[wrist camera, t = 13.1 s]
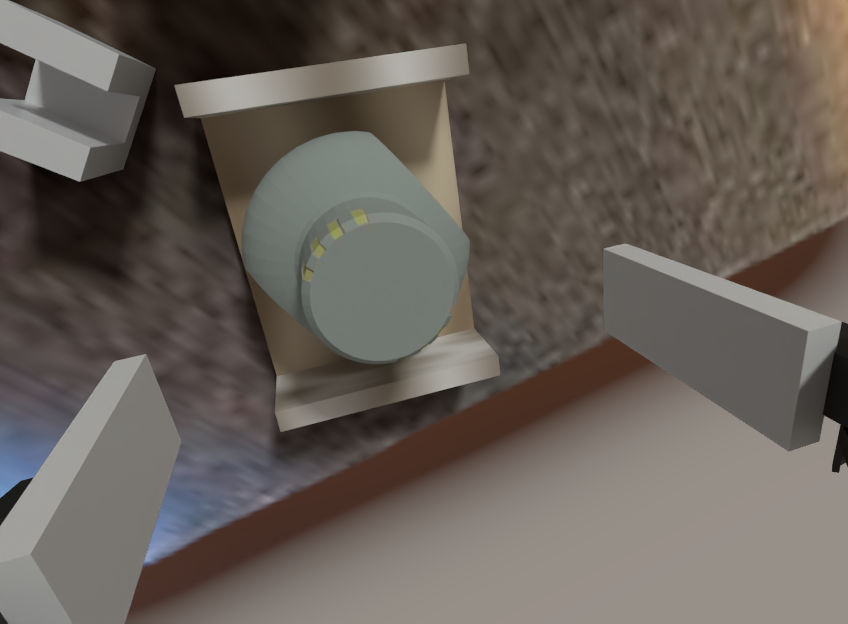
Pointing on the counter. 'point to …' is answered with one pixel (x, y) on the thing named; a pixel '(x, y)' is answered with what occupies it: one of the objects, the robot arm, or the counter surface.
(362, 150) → the air freshener
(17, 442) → the counter surface
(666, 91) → the counter surface
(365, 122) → the end holder
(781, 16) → the counter surface
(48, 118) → the clip
